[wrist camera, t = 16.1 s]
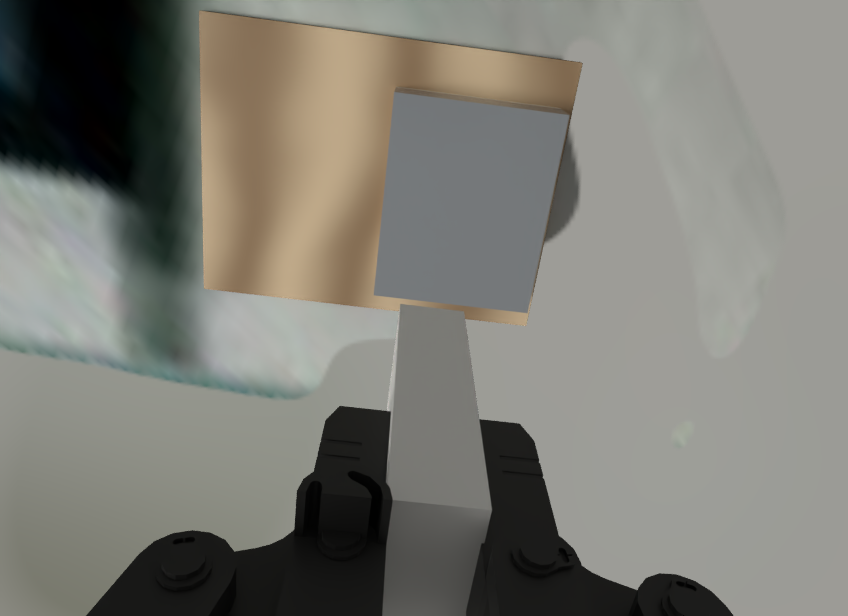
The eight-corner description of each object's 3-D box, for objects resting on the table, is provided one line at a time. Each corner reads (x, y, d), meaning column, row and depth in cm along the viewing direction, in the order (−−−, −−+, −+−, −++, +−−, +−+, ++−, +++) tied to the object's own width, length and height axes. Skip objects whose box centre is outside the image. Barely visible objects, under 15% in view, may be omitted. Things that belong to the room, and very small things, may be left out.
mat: (206, 285, 36) (204, 288, 36) (202, 10, 30) (199, 10, 30) (524, 322, 37) (526, 325, 36) (580, 62, 31) (582, 63, 31)
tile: (373, 295, 33) (527, 313, 33) (394, 92, 29) (569, 115, 29) (376, 277, 35) (521, 294, 36) (396, 86, 31) (559, 107, 31)
